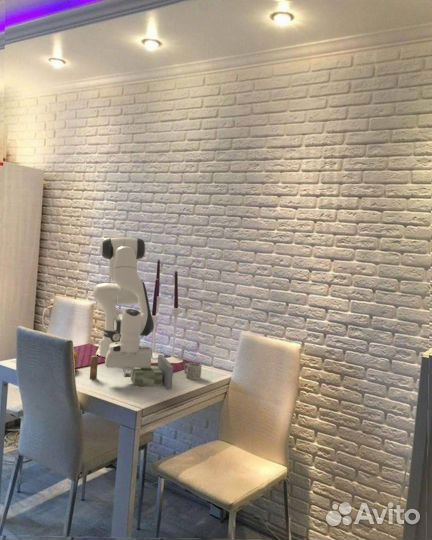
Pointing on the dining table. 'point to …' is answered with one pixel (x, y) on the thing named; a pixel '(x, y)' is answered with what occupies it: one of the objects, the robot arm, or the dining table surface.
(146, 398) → the dining table surface
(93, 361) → the dowel
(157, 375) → the socket block
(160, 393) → the dining table surface
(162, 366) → the wall
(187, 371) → the mug
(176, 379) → the dining table surface
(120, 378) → the dining table surface
